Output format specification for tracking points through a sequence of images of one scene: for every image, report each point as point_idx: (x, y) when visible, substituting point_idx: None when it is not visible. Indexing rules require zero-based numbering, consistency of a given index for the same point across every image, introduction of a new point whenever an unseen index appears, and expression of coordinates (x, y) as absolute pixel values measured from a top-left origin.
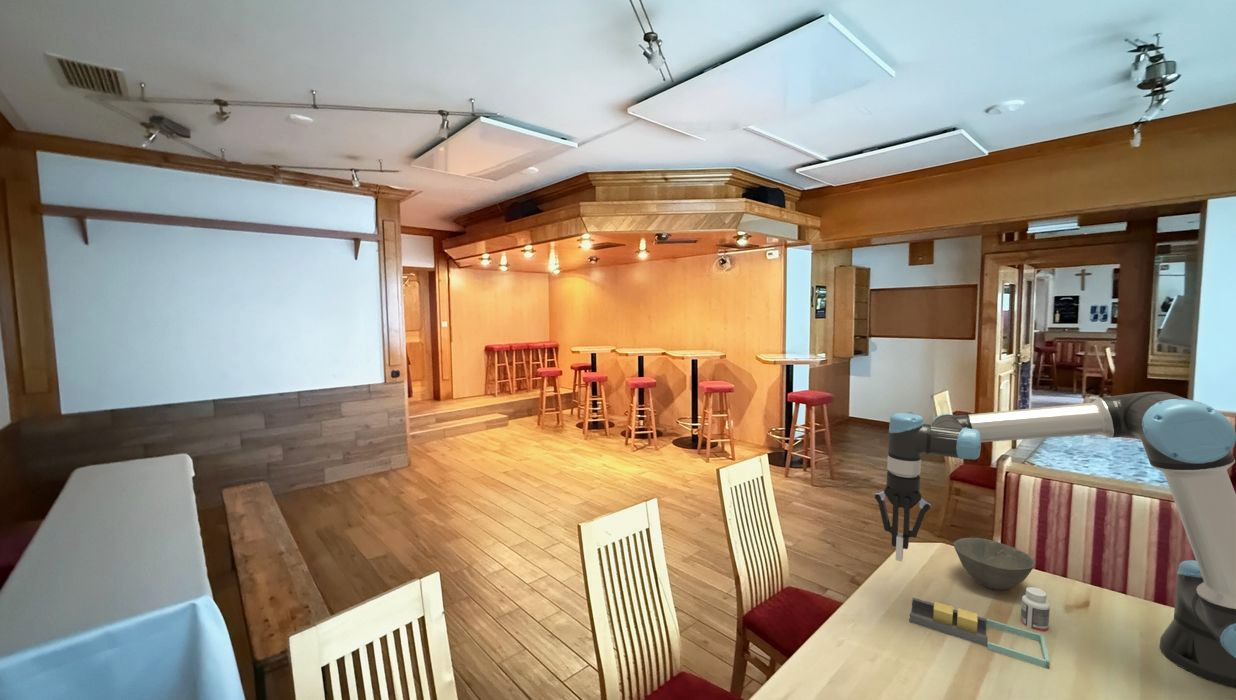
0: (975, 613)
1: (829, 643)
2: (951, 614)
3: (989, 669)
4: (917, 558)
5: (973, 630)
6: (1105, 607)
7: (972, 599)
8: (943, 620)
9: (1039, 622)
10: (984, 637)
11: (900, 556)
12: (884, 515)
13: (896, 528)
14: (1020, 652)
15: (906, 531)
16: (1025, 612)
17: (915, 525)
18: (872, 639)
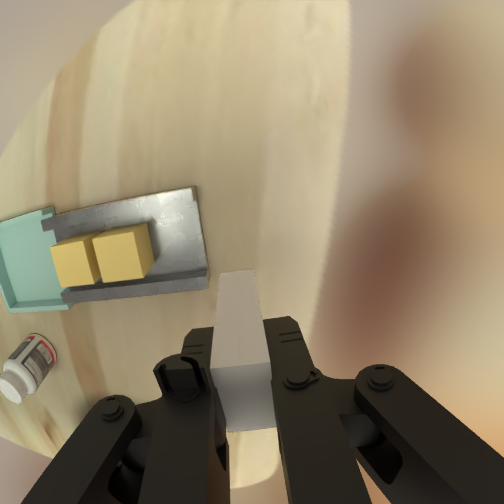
0: (63, 285)
1: (326, 5)
2: (94, 238)
3: (44, 151)
4: (254, 451)
5: (67, 239)
6: (37, 432)
7: (130, 385)
8: (119, 229)
9: (20, 345)
10: (44, 220)
11: (228, 284)
12: (484, 487)
13: (289, 429)
14: (6, 223)
15: (173, 431)
16: (31, 356)
17: (67, 500)
18: (255, 64)
